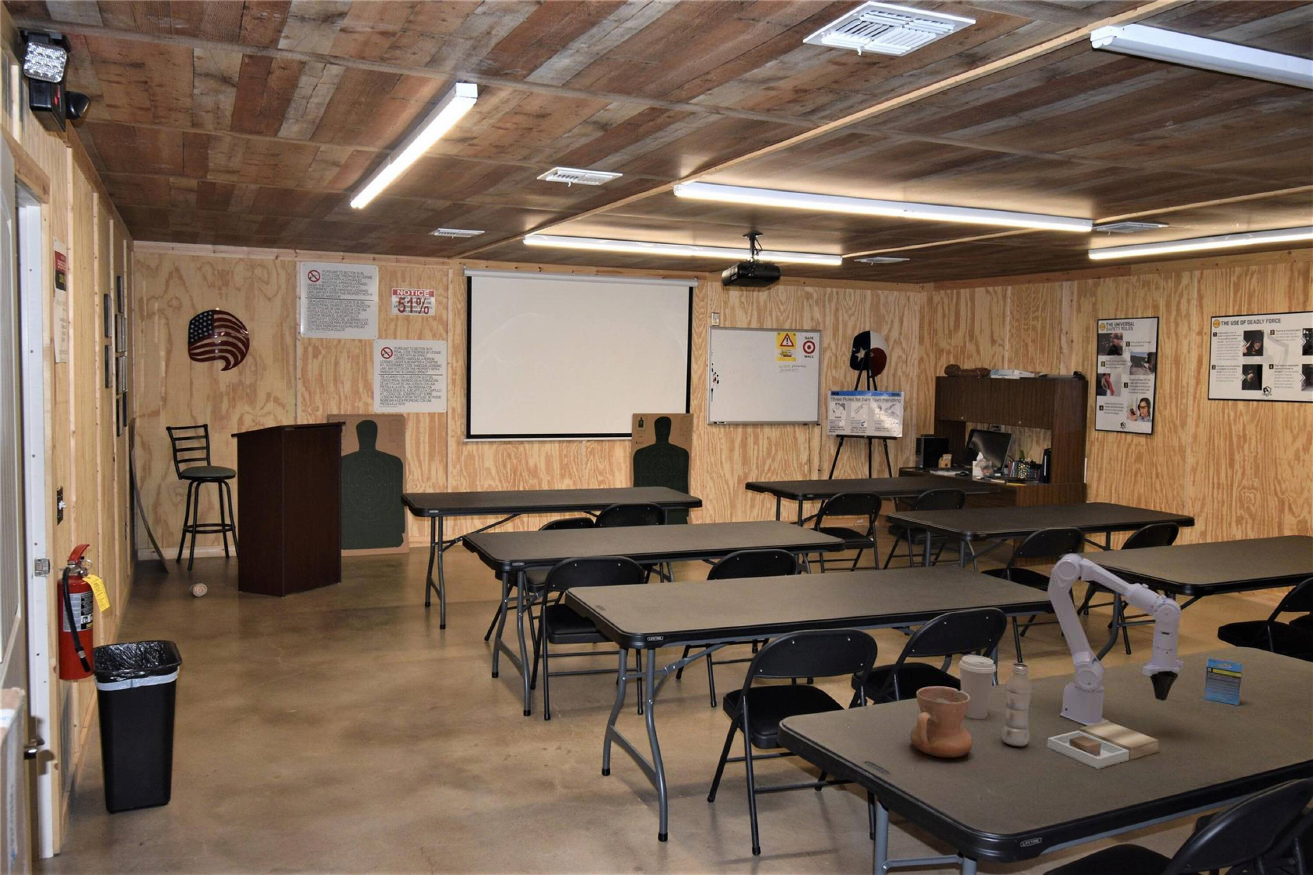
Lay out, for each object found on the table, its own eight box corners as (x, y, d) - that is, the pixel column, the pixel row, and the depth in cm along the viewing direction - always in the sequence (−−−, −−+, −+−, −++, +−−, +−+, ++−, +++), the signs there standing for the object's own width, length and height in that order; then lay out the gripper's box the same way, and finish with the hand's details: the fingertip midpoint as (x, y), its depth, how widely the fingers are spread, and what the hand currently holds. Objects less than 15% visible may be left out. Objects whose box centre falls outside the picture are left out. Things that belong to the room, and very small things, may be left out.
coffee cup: (953, 717, 262) (957, 661, 261) (957, 706, 271) (960, 652, 270) (991, 723, 258) (995, 667, 257) (994, 711, 267) (997, 657, 266)
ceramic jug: (936, 733, 250) (938, 678, 248) (987, 752, 238) (989, 694, 237) (891, 751, 238) (893, 693, 237) (942, 771, 227) (945, 711, 226)
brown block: (1083, 735, 243) (1082, 747, 243) (1069, 738, 241) (1068, 750, 241) (1101, 742, 239) (1100, 754, 239) (1087, 746, 236) (1086, 758, 236)
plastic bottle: (1028, 741, 247) (1033, 663, 245) (1029, 751, 240) (1034, 670, 239) (1000, 737, 249) (1006, 659, 247) (1000, 746, 243) (1006, 667, 241)
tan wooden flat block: (1079, 739, 250) (1080, 727, 249) (1106, 732, 255) (1107, 720, 255) (1130, 759, 238) (1131, 747, 237) (1157, 751, 243) (1158, 739, 243)
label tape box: (1239, 702, 283) (1243, 660, 282) (1239, 706, 280) (1242, 663, 279) (1204, 695, 288) (1208, 654, 287) (1203, 699, 284) (1207, 657, 283)
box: (1047, 747, 243) (1047, 737, 243) (1077, 739, 249) (1078, 730, 249) (1097, 768, 231) (1098, 758, 231) (1128, 760, 237) (1129, 750, 237)
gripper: (1162, 654, 246) (1158, 708, 247) (1196, 648, 253) (1192, 699, 254) (1136, 647, 252) (1132, 699, 253) (1170, 640, 259) (1166, 691, 260)
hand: (1160, 699), depth 254 cm, fingers closed
